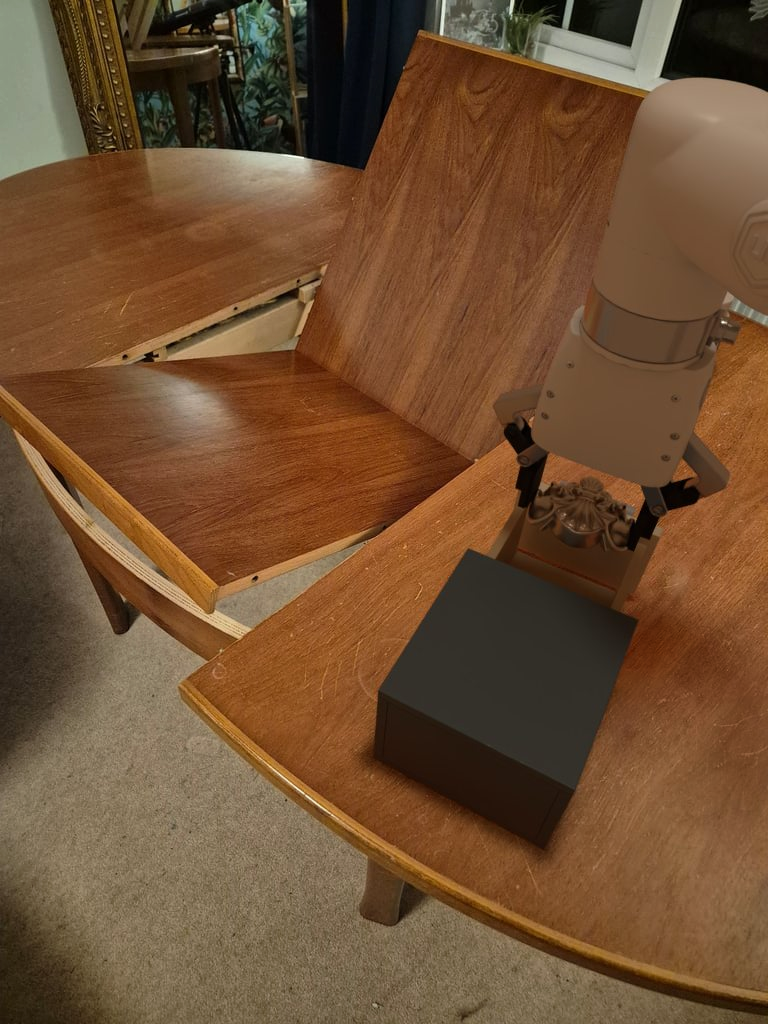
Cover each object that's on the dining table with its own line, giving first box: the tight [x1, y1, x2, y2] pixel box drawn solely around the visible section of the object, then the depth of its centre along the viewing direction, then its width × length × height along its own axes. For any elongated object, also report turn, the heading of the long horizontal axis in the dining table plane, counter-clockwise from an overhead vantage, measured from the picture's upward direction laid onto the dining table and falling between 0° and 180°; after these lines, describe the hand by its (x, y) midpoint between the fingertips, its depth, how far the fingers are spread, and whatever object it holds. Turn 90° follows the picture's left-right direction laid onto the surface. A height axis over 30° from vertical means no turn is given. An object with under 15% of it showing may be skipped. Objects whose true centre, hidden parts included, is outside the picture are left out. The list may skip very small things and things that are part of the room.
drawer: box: [485, 479, 664, 613], centre depth 63 cm, size 18×12×8 cm
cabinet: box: [372, 547, 639, 850], centre depth 55 cm, size 15×14×10 cm
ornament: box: [526, 476, 635, 553], centre depth 57 cm, size 8×7×4 cm
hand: (580, 516), depth 57 cm, fingers closed on ornament, 8 cm apart
